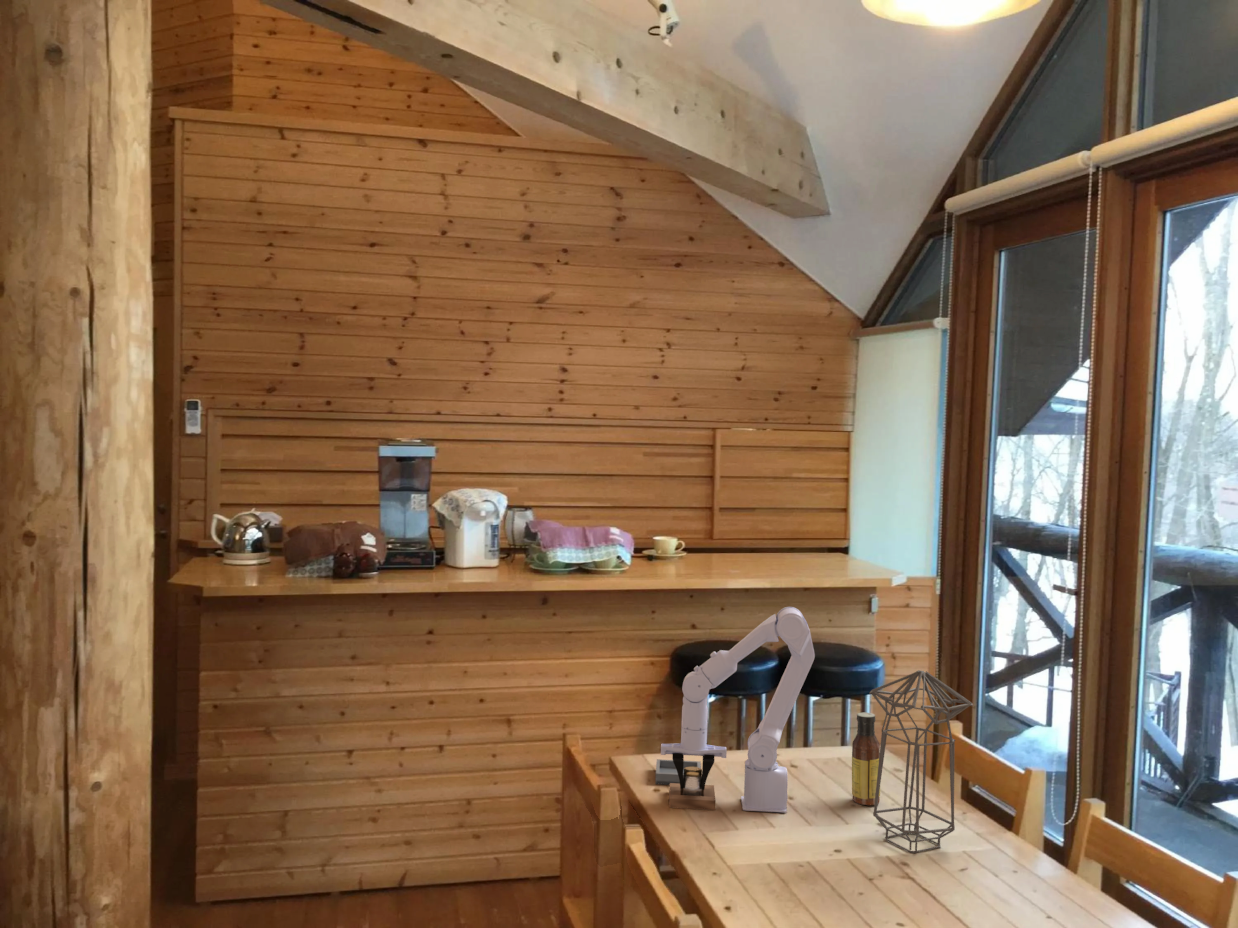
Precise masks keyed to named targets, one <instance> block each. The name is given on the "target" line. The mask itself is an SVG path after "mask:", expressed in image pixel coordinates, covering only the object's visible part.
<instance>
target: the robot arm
mask: <svg viewBox="0 0 1238 928" xmlns="http://www.w3.org/2000/svg"><path fill="white" fill-rule="evenodd" d="M779 637H780V639H781V640H782V641H783V642H784V643H785V644H786V645H787V647H788V650H789V652H790V655H791V656H790V659H789V660H788V663H787V665H786V668H785V669H784V672H783V674H782V676H781V678H780V681H779V683H778V685H777V687H776V690H775V691H774V694H773V696H772V699H771V701H770V703H769V706H768V708H767V710H766V711H765V714H764V716H763V718H762V720H761V721H760V723H759V725H758V727H757V728H756V729H755V730H754V731H753V732H752V733H751V734H750V735H749V737H748V739H747V759H746V760H745V762H744V780H743V781H744V785H743V786H744V787H743V791H744V792H743V795H741V796H740V801H741V807H742V810H743V811H750V812H767V813H768V812H769V813H784V814H786V813H788V812H787V810H788V809H787V807H788V806H787V805H788V804H787V803H788V796H789V795H788V781H789V780H788V769H787V766H781V765H779V763H778V762H777V759H778V751H777V750H778V746H779V745H780V741H781V738H782V733H783V730H784V729H785V725H786V724H787V722H788V720H789V717H790V714H791V712H792V710H793V709H794V705H795V703H796V701H797V699H798V697H799V694H800V692H801V689H802V687H803V686H804V683H805V681H806V679H807V676H808V674H809V672H810V670H811V668H812V665H813V663H814V660H815V657H816V653H815V649H814V644H813V640H812V633H811V630H810V627H809V625H808V621H807V620H806V618H805V617H804V615H803V613H802V611H801V610H799V609H798V608H796V607H794V606H786V607H783V608H781V609H780V610H779V611H778V612H777V614H776V613H774V614H772V615H770V616H769V617H767V619H764V621H762V622H761V623H760V624H758V626H756V627H755V628H754V629H753V630H751V631H750V632H749V633H748V634H746V636H745V637H743V638H742V639H741V640H739V642H737V643H736V644H735V645H734V646H733V647H732V648H730V649H729V650H724V649H723V650H722V649H719V651H717V652H716V651H712V652H711V653H710V654H709V656H710V658H709V659H707V660H706V661H704V662H703V663H702V664H701V665H699V666H698V665H696V666H695V667H694V668H693V671H691V672H688V673H687V674H686V676H685V677H684V678H683V682H682V686H681V688H682V693H683V697H682V707H681V729H680V730H681V735H680V736H681V737H680V743H676V742H675V743H661V744H660V756H661V755H662V756H667V755H672V759H671V760H673V762H674V765H675V767H676V770H677V773H678V776H679V780H680V788H681V789H683V787H684V782H683V781H684V780H683V764H684V761H685V759H684V756H696V757H697V756H698V757H699V756H700V757H702V765H701V769H702V782H701V790H704V789H705V785H706V783H707V778H708V776H709V774H710V771H711V770H712V768H713V765H714V764H715V757H717V758H722V759H727V753H728V752H727V746H720V745H718V746H717V745H714V744H713V745H711V744H707V743H708V715H709V711H708V710H709V707H708V703H707V702H708V695H709V693H710V690H711V689H715V688H717V687H718V686H719V685H721V684H722V683H723V682H724V681H725V680H727V679H728V678H729V677H731V676H732V675H733V674H735V673H736V672H737V670H738V663H739V662H740V661H742V660H743V659H745V658H746V657H747V656H749V655H750V654H751V653H753V652H754V651H756V650H757V649H758V648H760V647H761V646H763V645H764V644H765V643H777V642H780V640H779Z"/></svg>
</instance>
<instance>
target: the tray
mask: <svg viewBox="0 0 1238 928" xmlns="http://www.w3.org/2000/svg"><path fill="white" fill-rule="evenodd" d="M701 764H702V763H701V761H697V760H696V761H695V760H684V764H683V780H684V768H686V767H698V768H701V769H702V765H701ZM655 767H656V768H655V785H662V786H663V785H667V786H668V785H669V786H670V783H678V784H680V780H679V776H678V773H677V770H676V767H675V765H674V762H673V759H657V758H656V765H655Z"/></svg>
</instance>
